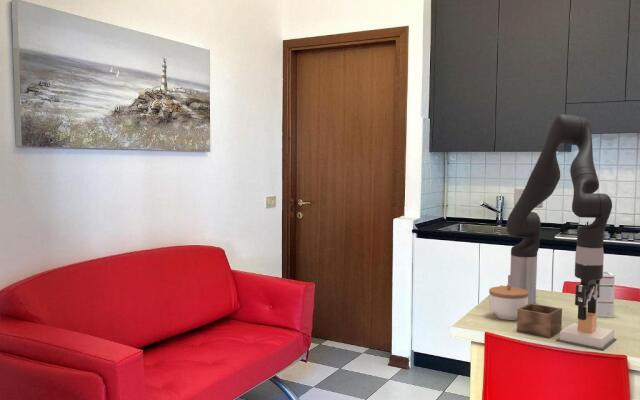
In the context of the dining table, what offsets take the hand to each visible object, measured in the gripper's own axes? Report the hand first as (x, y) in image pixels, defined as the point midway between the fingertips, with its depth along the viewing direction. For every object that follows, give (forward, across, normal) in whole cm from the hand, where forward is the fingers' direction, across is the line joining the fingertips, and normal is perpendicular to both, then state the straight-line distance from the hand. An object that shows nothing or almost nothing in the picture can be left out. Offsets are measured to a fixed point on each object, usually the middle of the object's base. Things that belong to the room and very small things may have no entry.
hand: (586, 316), depth 178 cm
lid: (+7, 0, 0) cm, 7 cm away
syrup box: (+8, -33, -5) cm, 34 cm away
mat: (+7, 0, 0) cm, 7 cm away
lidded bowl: (+8, -9, -28) cm, 30 cm away
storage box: (+7, 0, -14) cm, 16 cm away
